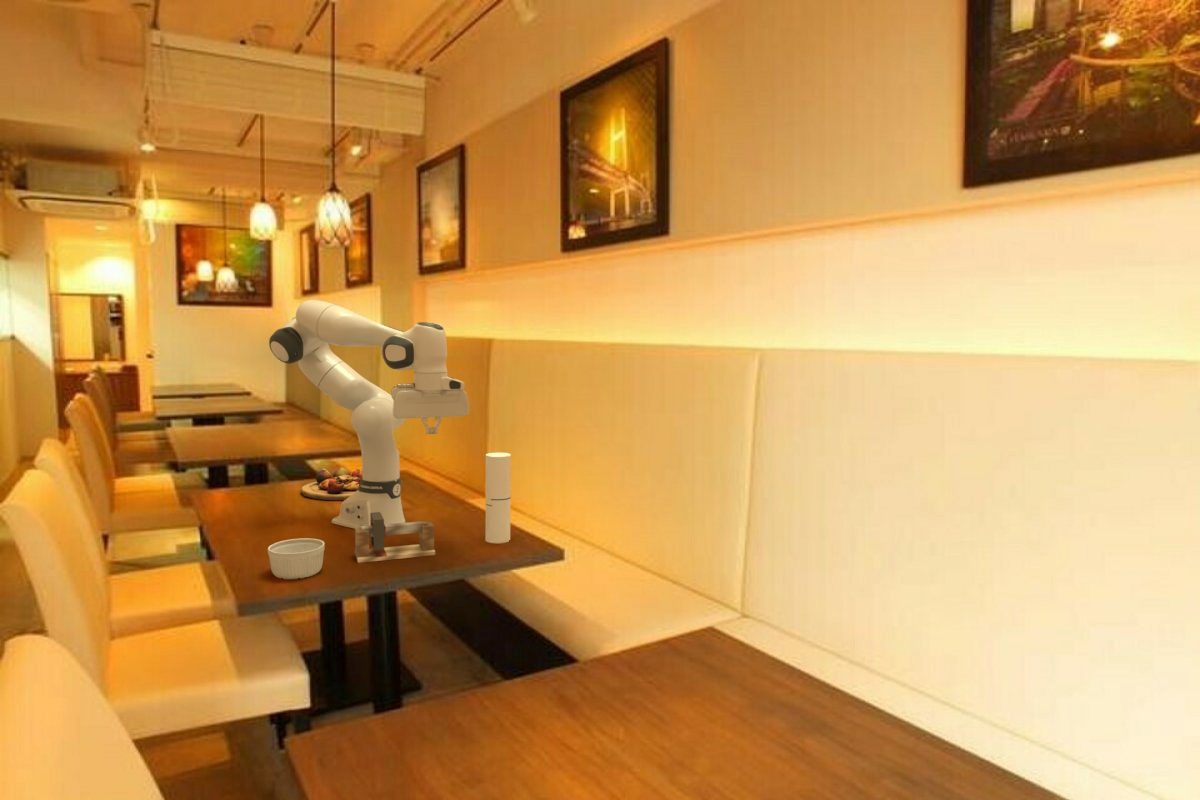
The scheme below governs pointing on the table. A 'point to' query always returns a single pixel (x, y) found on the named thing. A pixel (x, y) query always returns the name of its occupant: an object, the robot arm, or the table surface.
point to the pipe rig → (398, 551)
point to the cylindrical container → (498, 497)
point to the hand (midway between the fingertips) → (431, 433)
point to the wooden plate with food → (333, 485)
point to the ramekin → (296, 558)
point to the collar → (377, 530)
